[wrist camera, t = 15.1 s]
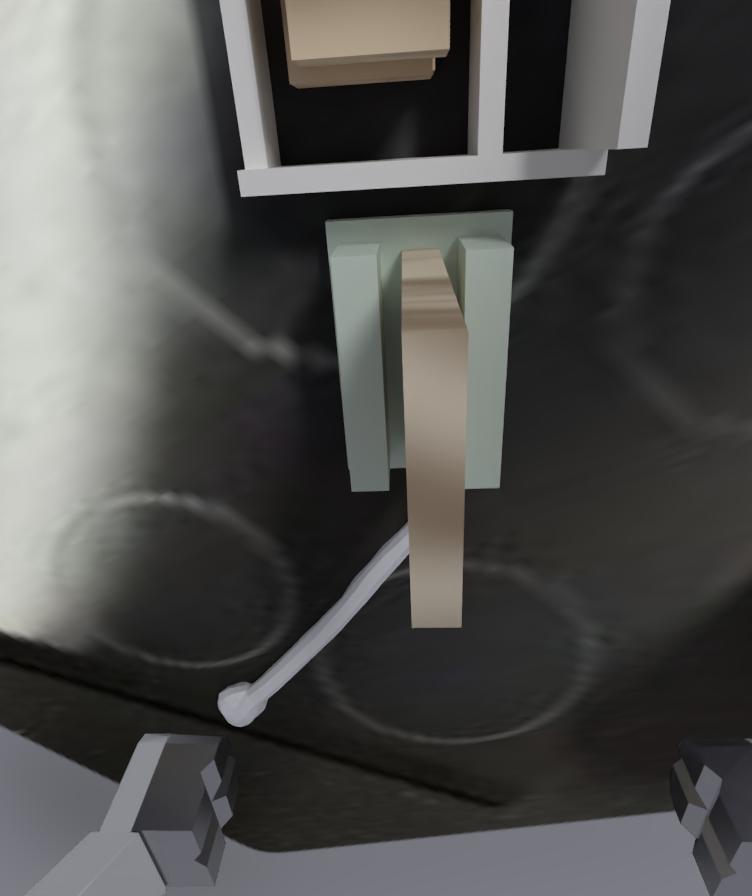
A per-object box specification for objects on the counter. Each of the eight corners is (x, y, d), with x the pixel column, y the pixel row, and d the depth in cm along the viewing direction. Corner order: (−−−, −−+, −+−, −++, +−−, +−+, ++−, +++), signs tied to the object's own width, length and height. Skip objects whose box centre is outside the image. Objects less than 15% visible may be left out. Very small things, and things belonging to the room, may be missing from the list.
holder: (327, 219, 28) (313, 233, 23) (509, 209, 27) (530, 221, 23) (349, 461, 34) (342, 507, 30) (495, 456, 34) (510, 503, 29)
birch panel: (401, 249, 27) (401, 335, 15) (438, 247, 27) (468, 332, 15) (408, 445, 32) (412, 627, 20) (438, 444, 32) (461, 627, 20)
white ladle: (416, 458, 34) (417, 483, 32) (466, 491, 35) (471, 517, 33) (213, 691, 46) (203, 722, 44) (256, 710, 47) (248, 742, 45)
